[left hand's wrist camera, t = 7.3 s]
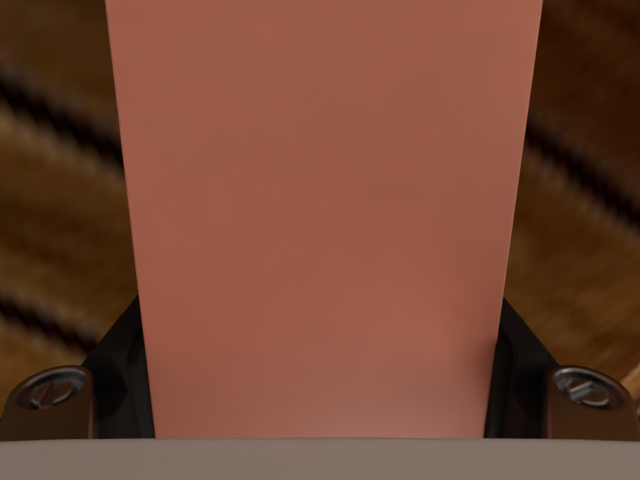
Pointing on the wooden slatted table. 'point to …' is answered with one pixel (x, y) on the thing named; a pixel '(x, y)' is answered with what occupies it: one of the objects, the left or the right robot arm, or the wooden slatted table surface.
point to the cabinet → (321, 208)
